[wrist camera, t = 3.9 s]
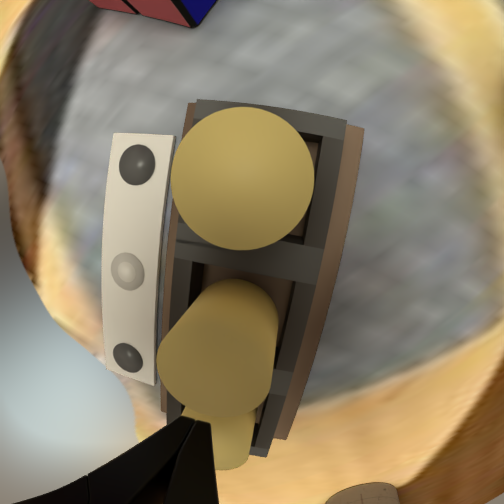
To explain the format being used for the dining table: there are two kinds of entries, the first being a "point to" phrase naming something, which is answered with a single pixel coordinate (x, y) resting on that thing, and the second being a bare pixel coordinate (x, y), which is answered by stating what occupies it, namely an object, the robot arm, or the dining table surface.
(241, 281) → the button middle
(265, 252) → the dark brown tray
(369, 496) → the thermos bottle
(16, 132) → the dining table surface
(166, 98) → the dining table surface
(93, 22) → the dining table surface
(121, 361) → the card
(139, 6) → the puzzle cube
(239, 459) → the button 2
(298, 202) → the button
